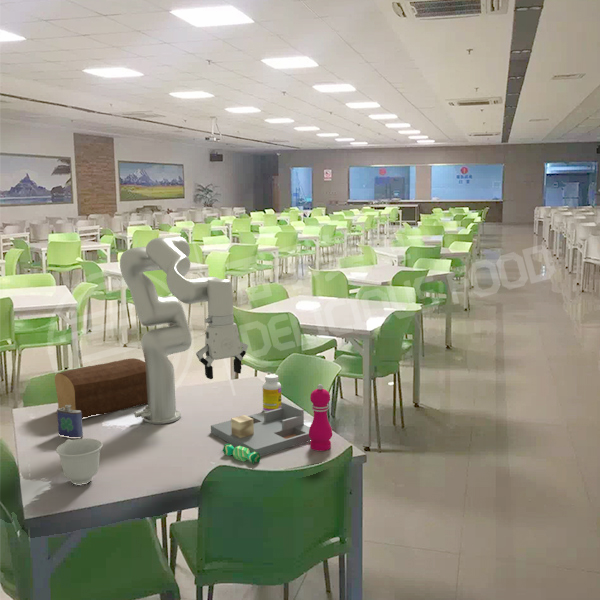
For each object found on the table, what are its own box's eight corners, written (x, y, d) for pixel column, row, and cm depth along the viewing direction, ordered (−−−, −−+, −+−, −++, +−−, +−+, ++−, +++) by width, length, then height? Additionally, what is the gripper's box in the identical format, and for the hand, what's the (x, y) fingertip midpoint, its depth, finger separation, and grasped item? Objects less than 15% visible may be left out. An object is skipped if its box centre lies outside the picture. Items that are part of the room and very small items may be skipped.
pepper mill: (335, 444, 207) (335, 381, 204) (328, 453, 201) (328, 388, 197) (313, 441, 210) (312, 379, 206) (305, 450, 203) (304, 386, 200)
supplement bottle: (281, 414, 235) (280, 378, 233) (262, 414, 236) (261, 378, 233) (282, 407, 242) (281, 373, 240) (263, 407, 242) (263, 373, 240)
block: (240, 438, 206) (239, 422, 206) (231, 433, 210) (231, 418, 210) (253, 434, 209) (253, 419, 209) (245, 429, 213) (244, 414, 213)
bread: (56, 410, 243) (52, 367, 240) (131, 393, 262) (128, 353, 260) (76, 423, 229) (73, 377, 227) (154, 403, 249) (152, 361, 246)
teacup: (89, 465, 194) (87, 432, 192) (112, 481, 183) (110, 446, 181) (47, 477, 186) (45, 443, 184) (69, 495, 175) (66, 459, 173)
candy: (220, 453, 199) (226, 440, 200) (227, 456, 202) (233, 443, 203) (250, 464, 192) (255, 450, 193) (257, 467, 194) (262, 453, 195)
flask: (84, 436, 216) (82, 405, 214) (78, 440, 213) (76, 407, 211) (62, 433, 219) (59, 402, 218) (55, 436, 217) (53, 404, 215)
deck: (255, 457, 198) (254, 433, 197) (210, 432, 218) (210, 410, 217) (318, 438, 212) (318, 415, 211) (271, 416, 233) (270, 396, 231)
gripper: (201, 325, 194) (204, 383, 196) (252, 318, 204) (254, 373, 206) (189, 322, 200) (192, 378, 202) (239, 315, 210) (241, 368, 212)
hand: (223, 375), depth 204 cm, fingers open, 9 cm apart
